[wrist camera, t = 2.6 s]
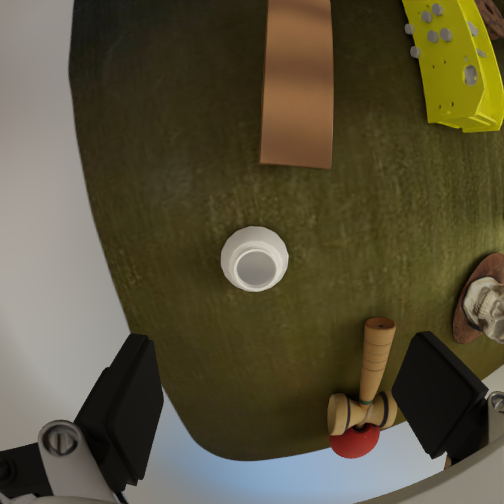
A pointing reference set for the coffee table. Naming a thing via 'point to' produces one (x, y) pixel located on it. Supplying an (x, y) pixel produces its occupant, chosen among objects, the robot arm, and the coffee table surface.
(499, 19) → the artifact
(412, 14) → the yellow toy chassis
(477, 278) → the skull
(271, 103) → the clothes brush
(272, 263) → the lidless jar
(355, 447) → the kendama
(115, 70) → the coffee table surface
